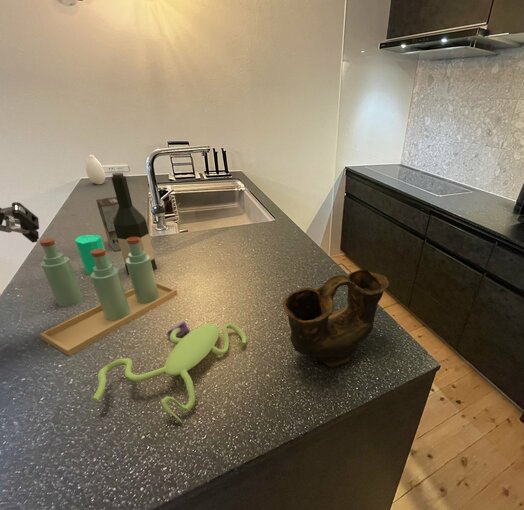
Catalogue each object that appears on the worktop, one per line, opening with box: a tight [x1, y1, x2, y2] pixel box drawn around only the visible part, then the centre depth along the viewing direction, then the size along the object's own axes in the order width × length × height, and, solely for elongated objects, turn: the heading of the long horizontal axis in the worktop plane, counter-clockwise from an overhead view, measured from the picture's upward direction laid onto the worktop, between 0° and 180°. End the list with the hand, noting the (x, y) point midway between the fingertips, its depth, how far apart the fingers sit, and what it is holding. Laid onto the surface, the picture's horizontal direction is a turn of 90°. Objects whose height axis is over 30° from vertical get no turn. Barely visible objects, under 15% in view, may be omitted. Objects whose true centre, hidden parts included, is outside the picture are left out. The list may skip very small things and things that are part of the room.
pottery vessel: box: [281, 269, 390, 369], centre depth 67 cm, size 25×11×20 cm, turn 127°
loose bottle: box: [38, 237, 84, 307], centre depth 75 cm, size 5×5×18 cm
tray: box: [39, 281, 179, 357], centre depth 76 cm, size 26×10×2 cm, turn 155°
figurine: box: [91, 320, 248, 424], centre depth 62 cm, size 18×27×6 cm
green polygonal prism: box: [74, 233, 110, 275], centre depth 91 cm, size 6×6×12 cm
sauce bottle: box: [85, 151, 106, 185], centre depth 166 cm, size 8×8×18 cm
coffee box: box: [95, 196, 121, 252], centre depth 105 cm, size 9×6×16 cm
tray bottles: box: [90, 237, 159, 321], centre depth 75 cm, size 13×5×18 cm, turn 155°
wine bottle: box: [110, 172, 158, 276], centre depth 88 cm, size 8×8×30 cm
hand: (8, 243), depth 62 cm, fingers open, 8 cm apart
